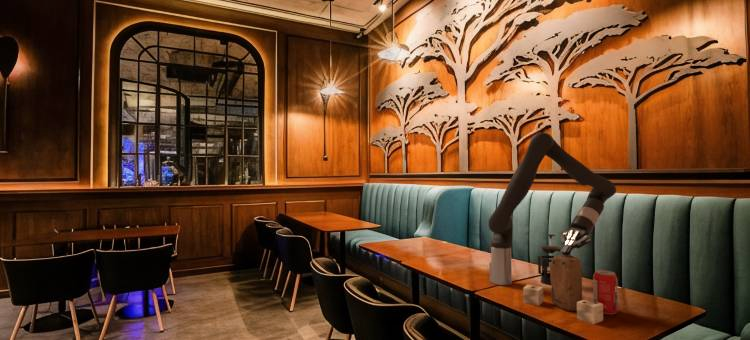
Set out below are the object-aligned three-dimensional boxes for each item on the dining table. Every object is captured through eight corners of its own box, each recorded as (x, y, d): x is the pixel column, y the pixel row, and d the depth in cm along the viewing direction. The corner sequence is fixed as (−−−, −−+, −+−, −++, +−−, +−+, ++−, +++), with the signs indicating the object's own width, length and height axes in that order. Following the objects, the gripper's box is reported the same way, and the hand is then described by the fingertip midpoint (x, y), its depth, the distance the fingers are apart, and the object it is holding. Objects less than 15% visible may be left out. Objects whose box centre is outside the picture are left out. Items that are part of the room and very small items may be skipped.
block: (584, 310, 140) (583, 258, 140) (568, 313, 138) (567, 259, 138) (562, 301, 150) (562, 252, 150) (547, 303, 148) (546, 253, 148)
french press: (568, 283, 174) (567, 235, 174) (555, 287, 169) (555, 237, 169) (545, 277, 184) (544, 231, 184) (533, 280, 179) (532, 233, 179)
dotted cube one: (523, 302, 150) (523, 287, 150) (528, 298, 154) (527, 283, 154) (538, 306, 146) (538, 290, 146) (543, 301, 150) (543, 286, 150)
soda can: (588, 310, 141) (588, 270, 141) (602, 306, 144) (601, 268, 144) (608, 317, 133) (608, 275, 134) (623, 313, 136) (622, 273, 137)
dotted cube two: (576, 318, 133) (576, 301, 133) (586, 315, 136) (585, 298, 136) (594, 324, 128) (593, 306, 128) (603, 320, 131) (602, 303, 131)
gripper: (565, 213, 154) (545, 245, 149) (596, 216, 142) (575, 251, 137) (574, 225, 157) (555, 257, 151) (605, 229, 144) (585, 263, 139)
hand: (564, 254), depth 144 cm, fingers closed
